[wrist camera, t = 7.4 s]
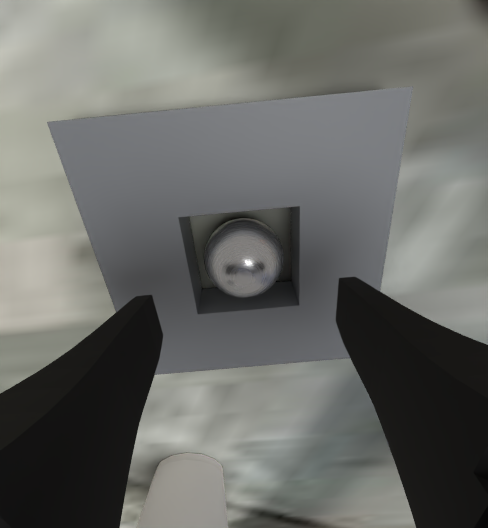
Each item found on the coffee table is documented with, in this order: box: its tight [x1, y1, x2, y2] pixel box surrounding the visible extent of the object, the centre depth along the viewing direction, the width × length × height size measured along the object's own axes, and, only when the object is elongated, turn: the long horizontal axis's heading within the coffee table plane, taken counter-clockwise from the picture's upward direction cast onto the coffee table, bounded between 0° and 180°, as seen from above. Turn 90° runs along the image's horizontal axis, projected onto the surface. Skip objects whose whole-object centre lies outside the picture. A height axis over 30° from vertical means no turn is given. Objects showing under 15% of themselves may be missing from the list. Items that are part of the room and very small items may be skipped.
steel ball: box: [204, 218, 284, 298], centre depth 15 cm, size 4×4×4 cm
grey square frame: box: [47, 86, 413, 375], centre depth 16 cm, size 14×14×2 cm
